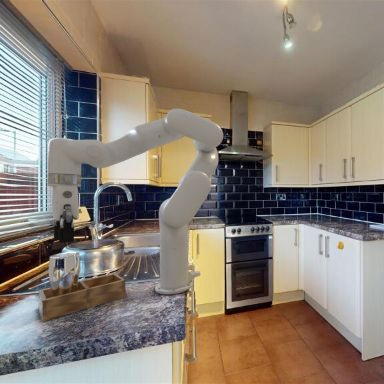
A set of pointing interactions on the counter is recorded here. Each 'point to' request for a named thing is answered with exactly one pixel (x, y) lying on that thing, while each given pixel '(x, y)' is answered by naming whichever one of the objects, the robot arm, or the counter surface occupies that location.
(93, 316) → the counter surface
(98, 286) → the holder
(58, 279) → the beer glass
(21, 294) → the counter surface
